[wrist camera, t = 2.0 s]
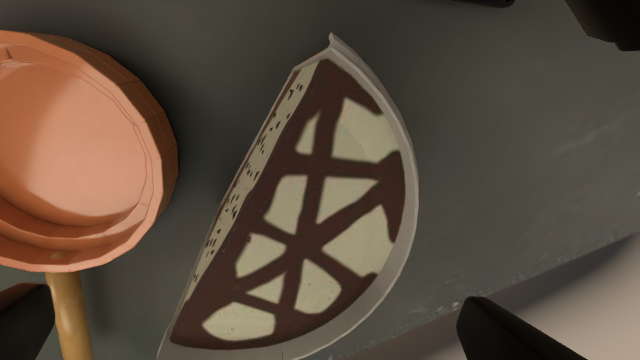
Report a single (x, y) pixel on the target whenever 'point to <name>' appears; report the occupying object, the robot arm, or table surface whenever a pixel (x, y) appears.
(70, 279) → the pan handle
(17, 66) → the pan
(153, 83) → the table surface
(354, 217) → the food container
